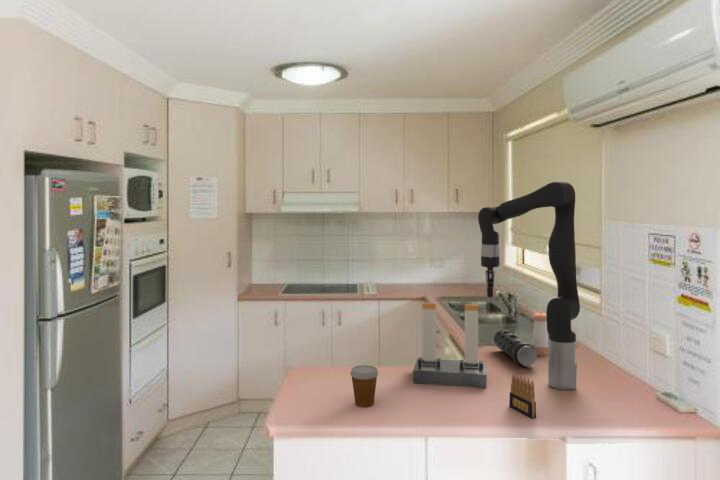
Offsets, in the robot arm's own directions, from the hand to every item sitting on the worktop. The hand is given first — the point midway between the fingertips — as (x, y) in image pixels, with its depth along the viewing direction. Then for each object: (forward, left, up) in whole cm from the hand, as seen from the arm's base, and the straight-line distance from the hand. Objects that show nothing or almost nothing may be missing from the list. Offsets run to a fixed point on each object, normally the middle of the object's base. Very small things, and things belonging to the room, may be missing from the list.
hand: (489, 295), depth 215 cm
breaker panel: (-13, +23, -29) cm, 39 cm away
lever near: (-16, +16, -23) cm, 33 cm away
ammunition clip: (-49, +13, -30) cm, 59 cm away
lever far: (-10, +30, -23) cm, 39 cm away
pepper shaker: (+10, -30, -30) cm, 43 cm away
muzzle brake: (+4, -14, -30) cm, 33 cm away
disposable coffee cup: (-30, +61, -30) cm, 74 cm away
